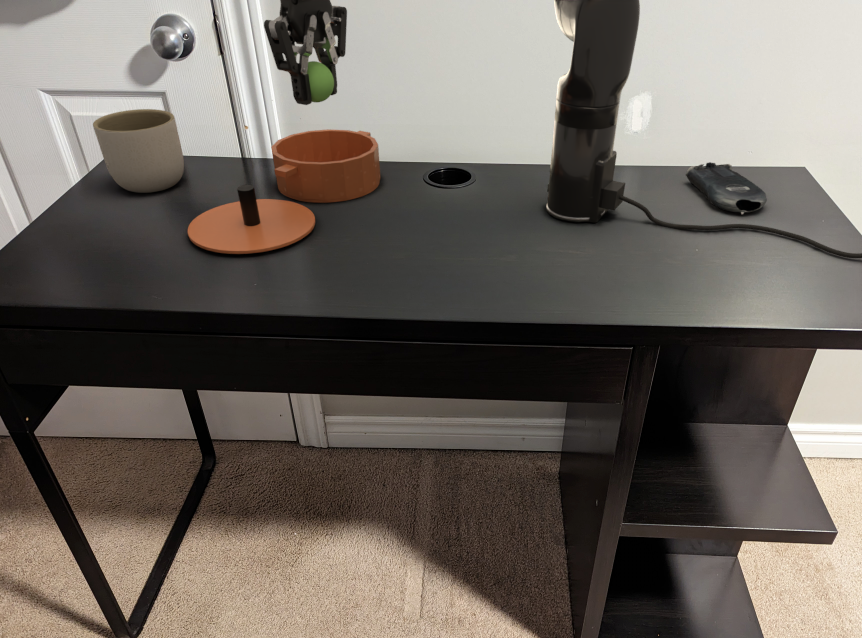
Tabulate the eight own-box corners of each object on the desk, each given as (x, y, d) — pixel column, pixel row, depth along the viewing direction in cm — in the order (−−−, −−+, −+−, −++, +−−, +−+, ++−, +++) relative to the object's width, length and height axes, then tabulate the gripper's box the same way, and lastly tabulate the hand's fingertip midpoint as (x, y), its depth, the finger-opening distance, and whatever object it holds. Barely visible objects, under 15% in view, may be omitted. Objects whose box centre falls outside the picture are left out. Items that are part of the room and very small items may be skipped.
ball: (343, 99, 93) (339, 60, 90) (320, 109, 89) (315, 67, 86) (314, 94, 95) (309, 55, 91) (290, 103, 91) (284, 63, 88)
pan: (407, 171, 124) (405, 135, 120) (328, 216, 108) (323, 176, 104) (330, 155, 130) (326, 120, 127) (245, 195, 114) (237, 156, 110)
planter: (96, 191, 115) (74, 125, 109) (149, 167, 124) (132, 105, 118) (154, 203, 111) (135, 135, 105) (204, 177, 121) (190, 114, 114)
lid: (340, 220, 107) (336, 179, 103) (257, 269, 94) (248, 224, 90) (250, 197, 114) (243, 157, 110) (161, 239, 101) (149, 196, 97)
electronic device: (677, 191, 120) (722, 214, 108) (685, 159, 118) (733, 178, 105) (724, 195, 123) (773, 217, 110) (733, 163, 120) (785, 182, 107)
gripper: (284, -44, 75) (305, 116, 85) (359, -54, 85) (370, 90, 95) (233, -47, 78) (259, 108, 88) (311, -57, 88) (327, 83, 98)
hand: (317, 98), depth 92 cm, fingers closed on ball, 5 cm apart
